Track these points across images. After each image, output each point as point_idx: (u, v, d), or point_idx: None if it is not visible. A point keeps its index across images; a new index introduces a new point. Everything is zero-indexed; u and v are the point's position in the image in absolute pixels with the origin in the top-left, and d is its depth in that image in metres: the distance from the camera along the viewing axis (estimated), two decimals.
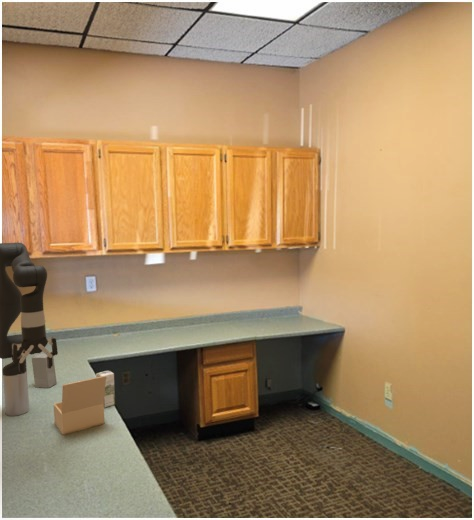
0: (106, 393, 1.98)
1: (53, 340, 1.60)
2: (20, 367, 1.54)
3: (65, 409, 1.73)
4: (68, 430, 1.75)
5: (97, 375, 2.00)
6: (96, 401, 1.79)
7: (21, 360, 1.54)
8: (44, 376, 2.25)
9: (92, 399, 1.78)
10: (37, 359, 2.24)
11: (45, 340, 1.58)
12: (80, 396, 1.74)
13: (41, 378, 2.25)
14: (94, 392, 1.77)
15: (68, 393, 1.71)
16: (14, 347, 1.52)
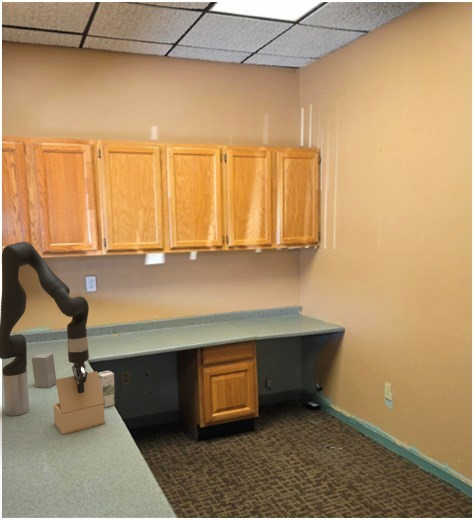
0: (106, 393, 1.98)
1: None
2: None
3: (64, 407, 1.74)
4: (68, 430, 1.75)
5: None
6: (95, 399, 1.81)
7: None
8: (44, 376, 2.25)
9: (90, 397, 1.80)
10: (37, 359, 2.24)
11: None
12: (76, 393, 1.78)
13: (41, 378, 2.25)
14: (90, 389, 1.82)
15: (63, 388, 1.77)
16: None
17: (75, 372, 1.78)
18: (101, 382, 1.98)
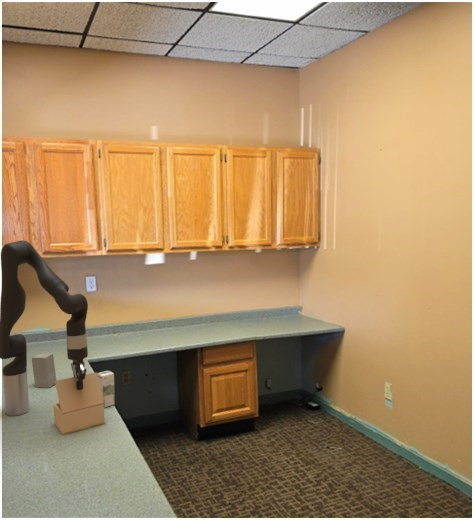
0: (106, 393, 1.98)
1: None
2: None
3: (64, 408, 1.74)
4: (68, 430, 1.75)
5: (97, 375, 2.00)
6: (94, 400, 1.81)
7: None
8: (44, 376, 2.25)
9: (89, 397, 1.81)
10: (37, 359, 2.24)
11: None
12: (75, 393, 1.79)
13: (41, 378, 2.25)
14: (89, 389, 1.82)
15: (62, 389, 1.78)
16: None
17: (74, 369, 1.79)
18: (101, 382, 1.98)
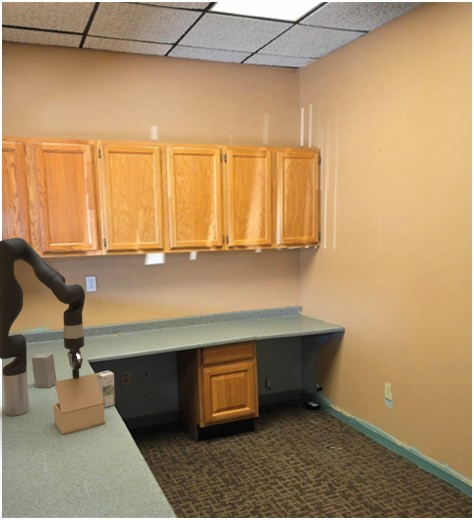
0: (106, 393, 1.98)
1: None
2: None
3: (64, 408, 1.74)
4: (68, 430, 1.75)
5: (97, 375, 2.00)
6: (94, 400, 1.81)
7: None
8: (44, 376, 2.25)
9: (89, 397, 1.81)
10: (37, 359, 2.24)
11: None
12: (75, 394, 1.79)
13: (41, 378, 2.25)
14: (89, 390, 1.83)
15: (62, 390, 1.78)
16: None
17: None
18: (101, 382, 1.98)
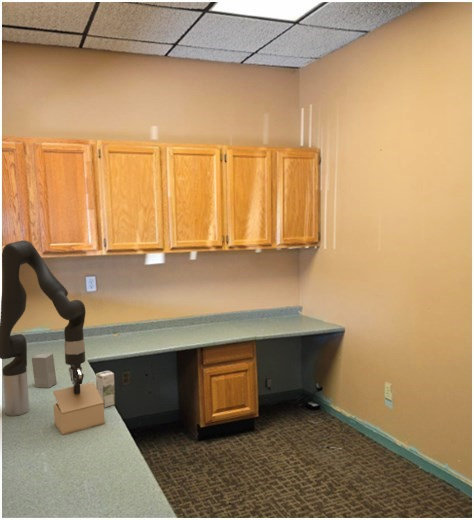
0: (106, 393, 1.98)
1: None
2: None
3: (63, 409, 1.75)
4: (68, 430, 1.75)
5: (97, 375, 2.00)
6: (94, 401, 1.81)
7: None
8: (44, 376, 2.25)
9: (89, 399, 1.82)
10: (37, 359, 2.24)
11: None
12: (74, 398, 1.81)
13: (41, 378, 2.25)
14: (88, 394, 1.84)
15: (61, 396, 1.80)
16: None
17: (72, 374, 1.82)
18: (101, 382, 1.98)
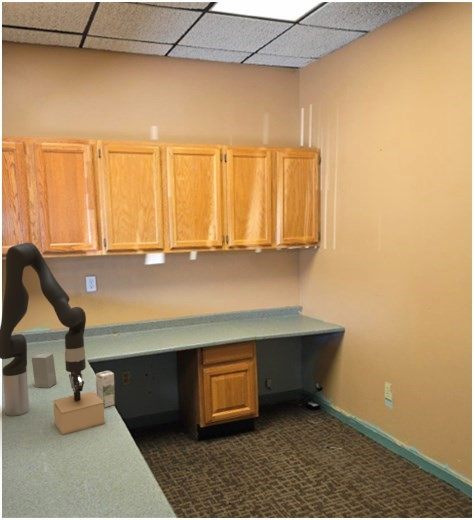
0: (106, 393, 1.98)
1: None
2: None
3: (63, 410, 1.75)
4: (68, 430, 1.75)
5: (97, 375, 2.00)
6: (94, 402, 1.82)
7: None
8: (44, 376, 2.25)
9: (89, 402, 1.82)
10: (37, 359, 2.24)
11: None
12: (74, 402, 1.81)
13: (41, 378, 2.25)
14: (88, 398, 1.85)
15: (61, 402, 1.81)
16: None
17: None
18: (101, 382, 1.98)
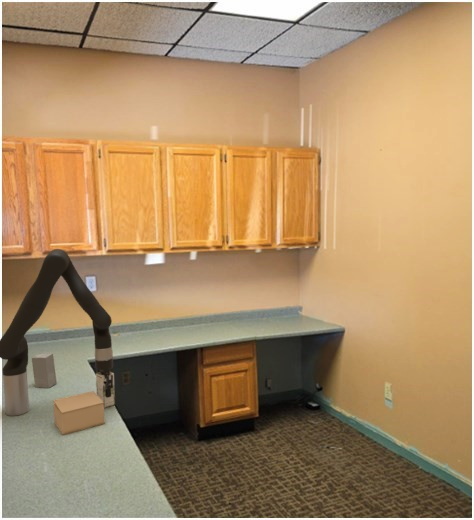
0: None
1: None
2: None
3: (63, 410, 1.75)
4: (68, 430, 1.75)
5: (97, 375, 2.00)
6: (94, 402, 1.82)
7: None
8: (44, 376, 2.25)
9: (89, 402, 1.82)
10: (37, 359, 2.24)
11: None
12: (74, 402, 1.81)
13: (41, 378, 2.25)
14: (88, 398, 1.85)
15: (61, 402, 1.81)
16: None
17: None
18: (101, 382, 1.98)
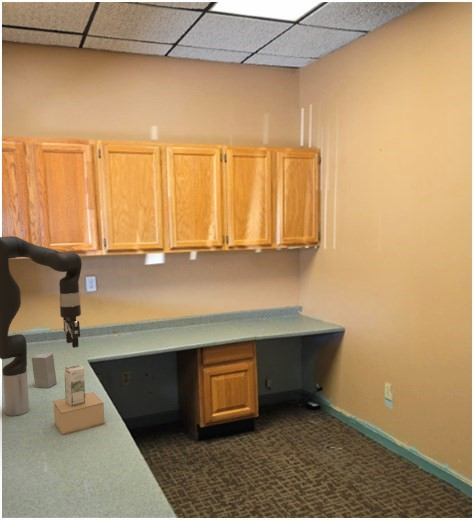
0: (75, 390, 1.78)
1: None
2: None
3: (63, 410, 1.75)
4: (68, 430, 1.75)
5: (65, 369, 1.79)
6: (94, 402, 1.82)
7: None
8: (44, 376, 2.25)
9: (89, 402, 1.82)
10: (37, 359, 2.24)
11: None
12: None
13: (41, 378, 2.25)
14: (88, 399, 1.85)
15: (61, 403, 1.81)
16: None
17: None
18: (69, 378, 1.77)
